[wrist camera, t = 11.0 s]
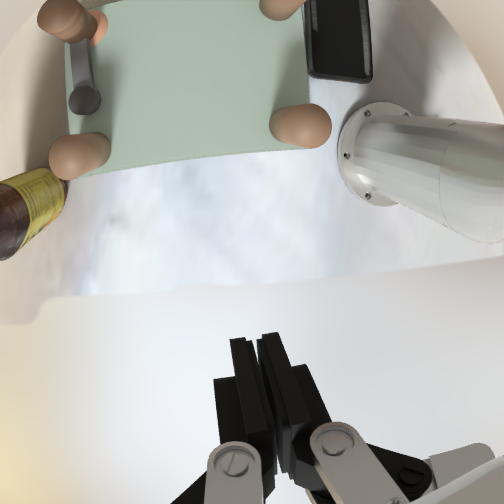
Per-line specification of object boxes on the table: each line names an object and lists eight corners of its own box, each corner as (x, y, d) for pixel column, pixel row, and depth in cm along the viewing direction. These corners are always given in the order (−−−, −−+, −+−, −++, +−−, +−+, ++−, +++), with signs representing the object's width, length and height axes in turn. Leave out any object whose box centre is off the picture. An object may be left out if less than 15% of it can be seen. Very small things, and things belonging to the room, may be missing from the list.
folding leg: (106, 109, 26) (83, 106, 20) (73, 119, 25) (44, 120, 19) (96, 10, 21) (75, -13, 15) (64, 21, 21) (37, 3, 15)
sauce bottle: (27, 219, 31) (-78, 303, 12) (24, 166, 28) (-99, 218, 10) (74, 219, 32) (-23, 314, 14) (72, 164, 29) (-46, 216, 11)
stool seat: (292, -5, 26) (321, -40, 17) (304, 146, 33) (340, 155, 24) (72, 22, 23) (36, -4, 15) (83, 175, 30) (47, 194, 22)
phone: (364, -24, 25) (373, 84, 30) (360, -21, 26) (368, 85, 31) (302, -38, 24) (308, 76, 29) (299, -34, 25) (304, 78, 30)
